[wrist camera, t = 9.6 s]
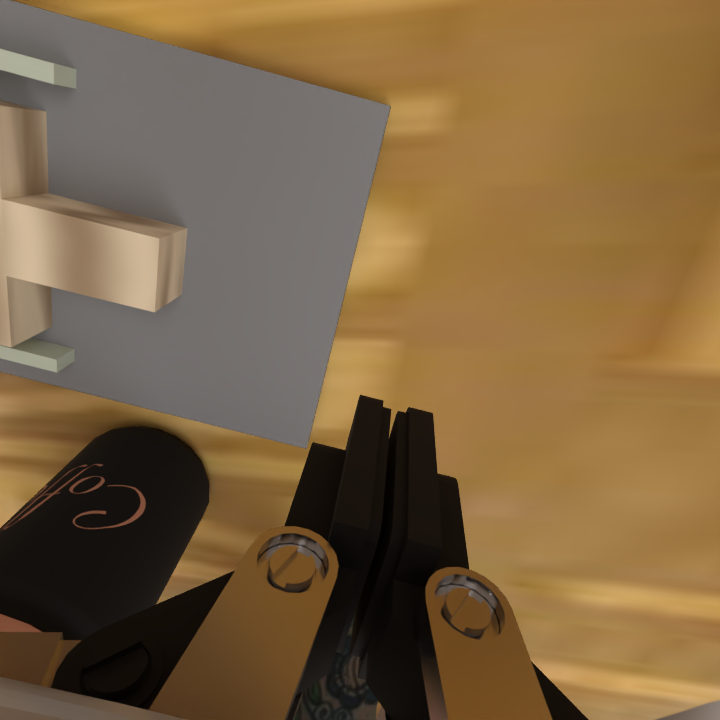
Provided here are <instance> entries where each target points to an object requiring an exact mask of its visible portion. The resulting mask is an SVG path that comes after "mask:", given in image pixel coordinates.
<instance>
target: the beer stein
mask: <svg viewBox="0 0 720 720" xmlns="http://www.w3.org/2000/svg"><path fill="white" fill-rule="evenodd" d="M353 621H354V617H353V620H352V623H351V626H350V629H349V632H348V635H347V638H346V641H345V644H344V647H343V650H342V652H341V653H339V652H336V653H335V656H334V660H333V663H332V666H331V669H330V672H329V674H328V675H326V676H325V677H323V678H322V679H320V680H319V681H317V682H316V683H314V684H313V685H311V686H310V687H308V688H307V689H305V690H304V691H303V694H302V698H301V701H300V704H299V706H298V709H297V712H296V715H295V718H294V720H376V710H377V704H378V700H377V699H376V697H375V696H374V694H373V693H372V691H371V690H370V689H369V687H368V686H367V684H366V683H365V682H366V680H364V679H360V678H357V677H358V668H359V657H355V656H351V655H350V645H351V637H352V629H353Z"/></svg>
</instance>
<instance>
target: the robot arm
mask: <svg viewBox="0 0 720 720" xmlns="http://www.w3.org/2000/svg"><path fill="white" fill-rule="evenodd" d="M390 418H391V409H388V408H384V407H383V401H382V400H378V399H375V398H371V397H367V396H363V395H360V397H359V400H358V404H357V408H356V411H355V415H354V419H353V423H352V427H351V430H350V434H349V438H348V442H347V446H346V450H342V449H338V448H334V447H330V446H326V445H322V444H318V443H314V442H313V443H312V446H311V448H310V451H309V454H308V457H307V460H306V463H305V466H304V469H303V472H302V475H301V478H300V481H299V484H298V487H297V490H296V493H295V496H294V499H293V502H292V505H291V508H290V511H289V514H288V517H287V520H286V523H285V526H282V527H278V528H274V529H270V530H269V531H267V532H265V533H263V534H262V535H260V536H259V537H258V538H257V539H256V540H255V541H254V542H253V543H252V545H251V546H250V548H249V549H248V551H247V552H246V554H245V556H244V557H243V559H242V561H241V562H240V564H239V565H238V567H237V569H236V570H235V571H233V572H230V573H228V574H226V575H223V576H221V577H219V578H216V579H214V580H212V581H210V582H207V583H205V584H203V585H200V586H198V587H196V588H193V589H191V590H189V591H186V592H184V593H182V594H179V595H177V596H175V597H173V598H170V599H168V600H166V601H163V602H161V603H159V604H156V605H154V606H152V607H149V608H147V609H145V610H142V611H140V612H138V613H136V614H133V615H131V616H129V617H126V618H124V619H122V620H119V621H117V622H115V623H112V624H110V625H108V626H105V627H103V628H101V629H99V630H97V631H96V632H94V633H92V634H90V635H89V636H87V637H85V638H84V639H82V640H63V632H0V720H294V718H295V715H296V712H297V709H298V706H299V704H300V701H301V698H302V694H303V691H304V690H305V689H307V688H308V687H310V686H311V685H313V684H314V683H316V682H317V681H319V680H320V679H322V678H323V677H325V676H326V675H328V674H329V672H330V669H331V666H332V663H333V660H334V656H335V653H336V652H339V653H341V652H342V650H343V647H344V644H345V641H346V638H347V635H348V632H349V629H350V626H351V623H352V620H353V617H354V621H353V629H352V637H351V645H350V655H351V656H355V657H359V668H358V677H357V678H360V679H364V680H366V682H365V683H366V684H367V686H368V687H369V689H370V690H371V691H372V693H373V694H374V696H375V697H376V699H377V700H378V704H377V710H376V720H588V719H587V718H586V717H585V716H584V715H583V714H582V713H581V712H580V711H579V710H578V709H577V708H576V707H575V706H574V704H573V703H572V702H571V701H570V700H569V699H568V698H567V697H566V696H565V695H564V694H563V693H562V692H561V691H560V690H559V689H558V688H557V687H556V686H555V685H554V684H553V683H552V682H551V681H550V680H549V679H548V678H547V677H546V676H545V675H544V674H543V673H542V672H541V671H540V670H539V669H538V668H537V667H536V666H535V665H534V664H533V663H532V662H531V660H530V657H529V654H528V651H527V649H526V646H525V643H524V640H523V638H522V635H521V632H520V629H519V627H518V624H517V621H516V618H515V616H514V613H513V610H512V608H511V606H510V604H509V602H508V600H507V598H506V597H505V596H504V594H503V593H502V592H501V591H500V590H499V588H498V587H497V586H496V585H495V584H493V583H492V582H491V581H489V580H488V579H487V578H486V577H484V576H482V575H480V574H478V573H476V572H474V571H472V570H469V564H468V557H467V549H466V541H465V534H464V526H463V519H462V511H461V503H460V496H459V488H458V483H457V480H456V479H455V478H453V477H449V476H446V475H442V474H438V473H437V462H436V448H435V435H434V421H433V413H430V412H426V411H422V410H418V409H414V408H410V407H408V409H407V411H406V413H404V412H400V411H398V412H397V414H396V417H395V421H394V424H393V427H392V430H391V434H390V437H389V430H390Z"/></svg>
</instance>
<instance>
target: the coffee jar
mask: <svg viewBox="0 0 720 720" xmlns="http://www.w3.org/2000/svg"><path fill="white" fill-rule="evenodd" d="M208 503H209V481H208V478H207V475H206V473H205V470H204V467H203V465H202V462H201V460H200V459H199V458H198V457H197V455H196V454H195V453H194V451H193V450H192V449H191V448H190V447H189V446H188V445H186V444H185V443H184V442H183V441H181V440H180V439H179V438H177V437H176V436H174V435H171V434H169V433H167V432H164V431H162V430H160V429H154V428H148V427H141V426H139V427H135V426H133V427H126V428H118V429H113V430H110V431H108V432H106V433H104V434H102V435H100V436H98V437H96V438H95V439H94V440H93V441H92V442H90V443H89V444H88V445H87V446H86V447H85V448H84V449H83V450H82V451H81V452H80V453H79V454H78V455H77V456H76V457H75V458H74V459H73V460H72V461H70V462H69V463H68V464H67V465H66V466H65V467H64V468H63V469H62V470H61V471H60V472H59V473H58V474H57V475H56V476H55V477H54V478H53V479H52V480H51V481H49V482H48V483H47V484H46V485H45V486H44V487H43V488H42V489H41V490H40V491H39V492H38V493H37V494H36V495H35V496H34V497H33V498H32V499H31V500H29V501H28V502H27V503H26V504H25V505H24V506H23V507H22V508H21V509H20V510H19V511H18V512H17V513H16V514H15V515H14V516H13V517H12V518H11V519H9V520H8V521H7V522H6V523H5V524H4V525H3V526H2V527H1V528H0V632H63V640H82V639H84V638H85V637H87V636H89V635H90V634H92V633H94V632H96V631H97V630H99V629H101V628H103V627H105V626H108V625H110V624H112V623H115V622H117V621H119V620H122V619H124V618H126V617H129V616H131V615H133V614H136V613H138V612H140V611H142V610H145V609H147V608H149V607H152V606H154V605H156V603H157V601H158V600H159V598H160V596H161V594H162V592H163V590H164V588H165V586H166V585H167V583H168V581H169V579H170V577H171V575H172V573H173V571H174V569H175V568H176V566H177V564H178V562H179V560H180V558H181V556H182V554H183V553H184V551H185V549H186V547H187V545H188V543H189V541H190V539H191V538H192V536H193V534H194V532H195V530H196V528H197V526H198V524H199V522H200V521H201V519H202V517H203V515H204V512H205V510H206V508H207V506H208Z"/></svg>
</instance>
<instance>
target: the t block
mask: <svg viewBox="0 0 720 720" xmlns="http://www.w3.org/2000/svg"><path fill="white" fill-rule="evenodd" d="M187 229H188V228H185V227H181V226H177V225H173V224H169V223H165V222H161V221H157V220H153V219H149V218H145V217H141V216H137V215H133V214H129V213H125V212H121V211H117V210H113V209H109V208H105V207H101V206H97V205H93V204H89V203H85V202H81V201H77V200H73V199H69V198H65V197H61V196H57V195H53V194H49V190H48V155H47V119H46V111H42V110H38V109H34V108H30V107H26V106H22V105H18V104H15V103H11V102H7V101H3V100H0V345H3V346H7V347H13V346H15V345H17V344H19V343H21V342H23V341H25V340H27V339H29V338H31V337H33V336H35V335H37V334H39V333H41V332H43V331H45V330H46V329H48V328H50V327H52V297H51V287H53V288H57V289H61V290H66V291H70V292H74V293H78V294H82V295H86V296H90V297H94V298H98V299H102V300H106V301H110V302H114V303H118V304H123V305H127V306H131V307H135V308H139V309H143V310H147V311H151V312H156V311H158V310H159V309H161V308H162V307H164V306H165V305H167V304H168V303H170V302H171V301H173V300H174V299H176V298H177V297H179V296H180V295H182V286H183V275H184V263H185V252H186V240H187Z"/></svg>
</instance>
